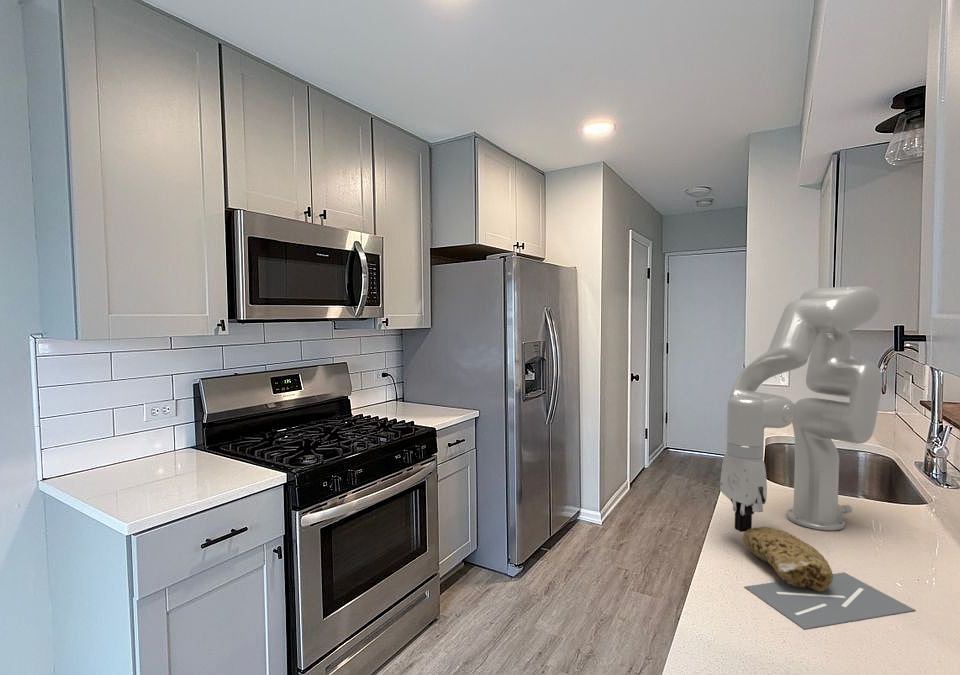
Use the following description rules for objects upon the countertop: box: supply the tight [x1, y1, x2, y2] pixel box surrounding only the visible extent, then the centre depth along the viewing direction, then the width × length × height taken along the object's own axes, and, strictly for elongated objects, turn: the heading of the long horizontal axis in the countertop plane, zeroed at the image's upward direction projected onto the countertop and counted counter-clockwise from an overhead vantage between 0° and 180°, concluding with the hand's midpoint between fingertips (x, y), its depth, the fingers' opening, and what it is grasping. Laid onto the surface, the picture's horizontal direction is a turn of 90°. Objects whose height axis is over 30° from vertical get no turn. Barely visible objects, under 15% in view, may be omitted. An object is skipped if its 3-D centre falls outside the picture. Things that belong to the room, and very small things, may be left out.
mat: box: [744, 571, 916, 630], centre depth 97 cm, size 24×14×1 cm, turn 103°
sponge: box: [742, 526, 834, 592], centre depth 108 cm, size 13×8×20 cm
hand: (743, 529), depth 119 cm, fingers closed
